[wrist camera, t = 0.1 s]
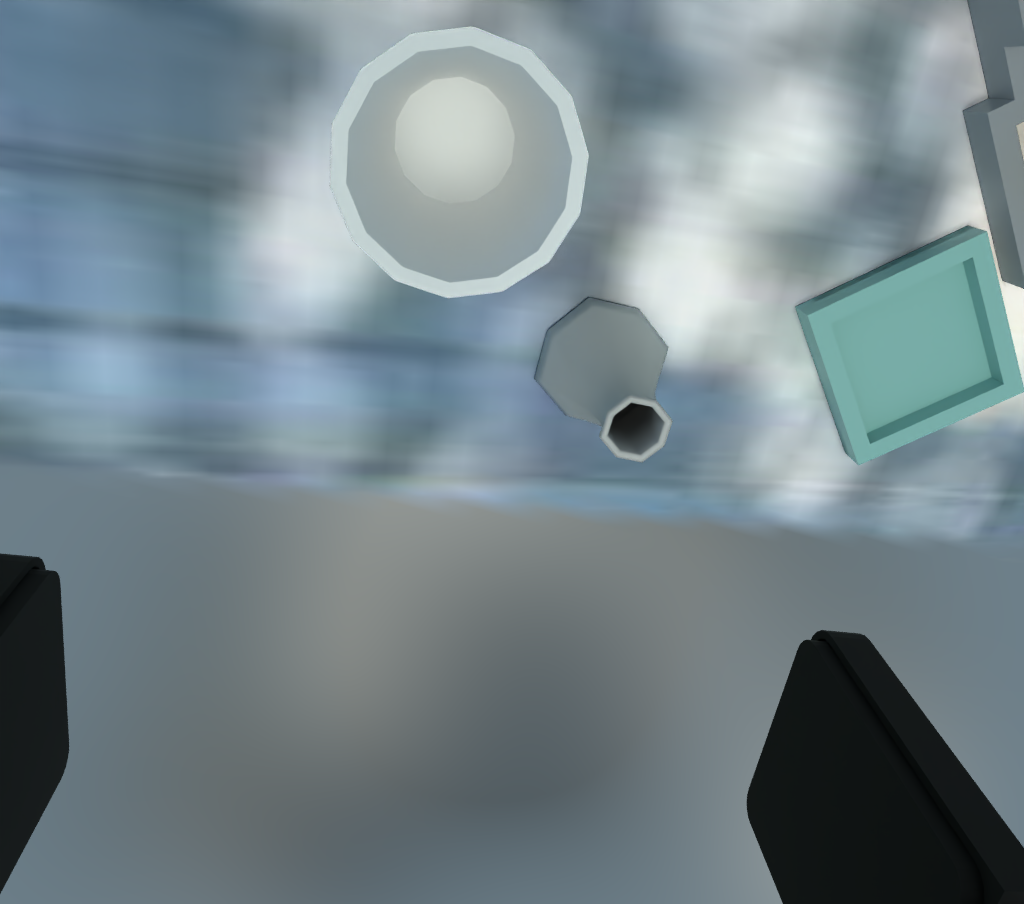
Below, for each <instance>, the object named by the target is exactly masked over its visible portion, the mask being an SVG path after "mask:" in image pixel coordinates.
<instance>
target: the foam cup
mask: <svg viewBox="0 0 1024 904" xmlns="http://www.w3.org/2000/svg"><path fill="white" fill-rule="evenodd" d="M588 158H589V154H588V150H587V147H586V144H585V140H584V137H583V133H582V130H581V126H580V123H579V119H578V116H577V112H576V109H575V105H574V102H573V98H572V96H571V95H570V93H569V92H568V91H567V90H566V89H565V88H564V87H563V85H562V84H561V83H560V82H559V81H558V80H557V79H556V77H555V76H554V75H553V74H552V73H551V72H550V71H549V70H548V68H547V67H546V66H545V65H544V64H543V63H542V62H541V60H540V59H539V58H538V57H537V56H536V55H535V54H534V52H533V51H532V50H531V49H529V48H526V47H524V46H521V45H519V44H516V43H514V42H511V41H509V40H506V39H504V38H501V37H499V36H496V35H494V34H491V33H489V32H486V31H484V30H481V29H479V28H476V27H474V26H471V27H462V28H453V29H444V30H435V31H426V32H418V33H411V34H410V35H408V36H407V37H405V38H404V39H403V40H401V41H400V42H398V43H397V44H395V45H394V46H393V47H391V48H390V49H388V50H387V51H385V52H384V53H383V54H381V55H380V56H378V57H377V58H375V59H374V60H372V61H371V62H370V63H368V64H367V65H365V66H364V67H362V68H361V69H360V71H359V73H358V75H357V77H356V79H355V81H354V82H353V84H352V86H351V88H350V90H349V92H348V94H347V96H346V98H345V100H344V101H343V103H342V105H341V107H340V109H339V111H338V113H337V115H336V117H335V119H334V121H333V122H332V131H331V159H330V188H331V190H332V193H333V195H334V198H335V200H336V202H337V205H338V207H339V210H340V212H341V214H342V217H343V219H344V222H345V224H346V226H347V229H348V231H349V234H350V236H351V238H352V241H353V242H354V243H355V244H356V245H357V246H358V247H359V248H360V249H362V250H363V251H364V252H365V253H366V254H367V255H368V256H369V257H370V258H371V259H372V260H373V261H374V262H375V263H377V264H378V265H379V266H380V267H381V268H382V269H383V270H384V271H385V272H386V273H387V274H388V275H389V276H390V277H392V278H393V279H394V280H395V281H397V282H400V283H403V284H406V285H409V286H412V287H415V288H418V289H422V290H425V291H428V292H431V293H434V294H437V295H440V296H443V297H446V298H454V297H462V296H470V295H479V294H487V293H495V292H502V291H504V290H506V289H507V288H509V287H510V286H512V285H514V284H515V283H517V282H518V281H520V280H522V279H523V278H525V277H526V276H528V275H529V274H531V273H533V272H534V271H536V270H537V269H539V268H541V267H542V266H544V265H545V264H547V263H548V262H549V261H550V260H551V258H552V257H553V255H554V254H555V252H556V251H557V249H558V248H559V246H560V244H561V243H562V241H563V240H564V238H565V237H566V235H567V234H568V232H569V231H570V229H571V227H572V226H573V224H574V223H575V221H576V220H577V218H578V217H579V215H580V211H581V205H582V198H583V191H584V185H585V178H586V171H587V164H588Z"/></svg>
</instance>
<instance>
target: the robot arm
mask: <svg viewBox="0 0 1024 904" xmlns="http://www.w3.org/2000/svg"><path fill="white" fill-rule="evenodd" d="M61 607H62V606H61V588H60V578H59V575H58V573H57V572H56V571H49V570H45V565H44V563H43V561H42V559H40V558H39V557H32V556H21V555H10V554H0V893H1V891H2V889H3V888H4V886H5V884H6V882H7V880H8V878H9V876H10V874H11V872H12V871H13V869H14V867H15V865H16V863H17V861H18V859H19V857H20V855H21V854H22V852H23V850H24V848H25V846H26V844H27V842H28V840H29V839H30V837H31V835H32V833H33V831H34V829H35V827H36V825H37V824H38V822H39V820H40V818H41V816H42V814H43V812H44V810H45V808H46V807H47V805H48V803H49V801H50V799H51V797H52V795H53V793H54V792H55V790H56V788H57V786H58V784H59V782H60V780H61V778H62V776H63V773H64V770H65V767H66V763H67V759H68V753H69V734H68V716H67V698H66V681H65V680H66V679H65V663H64V662H65V661H64V643H63V624H62V608H61ZM747 812H748V818H749V821H750V824H751V826H752V828H753V831H754V833H755V836H756V838H757V841H758V843H759V846H760V848H761V851H762V853H763V856H764V858H765V861H766V863H767V866H768V868H769V870H770V873H771V875H772V878H773V880H774V883H775V885H776V888H777V890H778V893H779V895H780V898H781V900H782V902H783V904H1024V848H1023V846H1022V845H1021V844H1020V842H1019V841H1018V840H1017V838H1016V837H1015V835H1014V834H1013V833H1012V832H1011V830H1010V829H1009V828H1008V826H1007V825H1006V823H1005V822H1004V821H1003V819H1002V818H1001V817H1000V815H999V814H998V813H997V811H996V810H995V808H994V807H993V806H992V805H991V803H990V802H989V800H988V799H987V798H986V796H985V795H984V794H983V792H982V791H981V790H980V788H979V787H978V786H977V784H976V783H975V782H974V780H973V779H972V778H971V776H970V775H969V773H968V772H967V771H966V769H965V768H964V767H963V766H962V764H961V763H960V761H959V760H958V759H957V757H956V756H955V755H954V753H953V752H952V751H951V749H950V748H949V747H948V745H947V744H946V743H945V741H944V740H943V738H942V737H941V736H940V734H939V733H938V732H937V730H936V729H935V728H934V726H933V725H932V724H931V723H930V721H929V720H928V719H927V717H926V716H925V714H924V713H923V712H922V710H921V709H920V707H919V706H918V705H917V703H916V702H915V701H914V699H913V698H912V697H911V695H910V694H909V693H908V691H907V690H906V689H905V687H904V686H903V685H902V683H901V682H900V681H899V679H898V678H897V677H896V675H895V674H894V672H893V671H892V670H891V668H890V667H889V666H888V664H887V663H886V662H885V660H884V659H883V658H882V656H881V655H880V654H879V652H878V651H877V650H876V648H875V647H874V645H873V644H872V643H871V641H870V640H869V639H868V638H867V637H866V636H865V635H862V634H858V633H847V632H836V631H826V630H821V631H818V632H816V633H815V634H814V635H813V637H812V639H811V640H805V641H803V642H802V643H801V644H800V646H799V648H798V650H797V653H796V656H795V659H794V662H793V664H792V667H791V670H790V673H789V676H788V679H787V682H786V684H785V687H784V691H783V693H782V696H781V699H780V702H779V704H778V707H777V710H776V713H775V716H774V719H773V722H772V724H771V727H770V730H769V733H768V736H767V739H766V742H765V745H764V747H763V750H762V753H761V756H760V759H759V761H758V764H757V767H756V770H755V773H754V776H753V779H752V781H751V784H750V787H749V791H748V794H747Z"/></svg>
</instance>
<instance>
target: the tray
mask: <svg viewBox="0 0 1024 904" xmlns="http://www.w3.org/2000/svg"><path fill="white" fill-rule="evenodd" d="M795 308H796V311H797V314H798V317H799V320H800V323H801V325H802V328H803V331H804V334H805V337H806V340H807V343H808V346H809V349H810V352H811V354H812V357H813V360H814V363H815V366H816V369H817V372H818V375H819V378H820V381H821V384H822V386H823V389H824V392H825V395H826V398H827V401H828V404H829V407H830V410H831V413H832V416H833V418H834V421H835V424H836V427H837V430H838V433H839V436H840V439H841V442H842V445H843V447H844V450H845V453H846V454H847V455H848V456H849V457H850V458H851V459H852V460H853V461H854V462H855V463H856V464H857V465H860V464H863V463H865V462H867V461H869V460H872V459H874V458H876V457H878V456H881V455H883V454H885V453H887V452H890V451H892V450H894V449H896V448H899V447H901V446H903V445H905V444H908V443H910V442H912V441H914V440H917V439H919V438H921V437H923V436H926V435H928V434H930V433H932V432H935V431H937V430H939V429H941V428H944V427H946V426H948V425H950V424H953V423H955V422H957V421H959V420H962V419H964V418H966V417H968V416H971V415H973V414H975V413H977V412H980V411H982V410H984V409H986V408H989V407H991V406H993V405H995V404H998V403H1000V402H1002V401H1004V400H1007V399H1009V398H1011V397H1013V396H1016V395H1018V394H1020V393H1022V392H1024V387H1023V383H1022V378H1021V374H1020V370H1019V366H1018V361H1017V357H1016V353H1015V349H1014V344H1013V340H1012V336H1011V332H1010V327H1009V323H1008V319H1007V315H1006V310H1005V306H1004V302H1003V298H1002V293H1001V289H1000V285H999V281H998V276H997V272H996V268H995V264H994V259H993V255H992V251H991V247H990V242H989V238H988V234H987V231H984V230H981V229H977V228H974V227H971V226H966V227H964V228H962V229H960V230H958V231H955V232H953V233H951V234H949V235H947V236H945V237H943V238H941V239H938V240H936V241H934V242H932V243H930V244H928V245H926V246H924V247H921V248H919V249H917V250H915V251H913V252H911V253H909V254H907V255H904V256H902V257H900V258H898V259H896V260H894V261H892V262H890V263H887V264H885V265H883V266H881V267H879V268H877V269H875V270H873V271H870V272H868V273H866V274H864V275H862V276H860V277H858V278H856V279H853V280H851V281H849V282H847V283H845V284H843V285H841V286H839V287H836V288H834V289H832V290H830V291H828V292H826V293H824V294H822V295H819V296H817V297H815V298H813V299H811V300H809V301H807V302H805V303H802V304H800V305H798V306H796V307H795Z"/></svg>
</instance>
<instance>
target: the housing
mask: <svg viewBox="0 0 1024 904" xmlns="http://www.w3.org/2000/svg"><path fill="white" fill-rule="evenodd" d="M968 4H969V8H970V13H971V17H972V22H973V26H974V31H975V36H976V40H977V45H978V49H979V54H980V58H981V63H982V68H983V72H984V77H985V81H986V86H987V90H988V95H989V99H986V100H984V101H982V102H980V103H978V104H976V105H974V106H972V107H970V108H968V109H966V110H964V111H963V113H964V118H965V122H966V126H967V130H968V135H969V139H970V143H971V148H972V152H973V156H974V160H975V165H976V169H977V173H978V178H979V182H980V186H981V191H982V195H983V199H984V203H985V208H986V212H987V216H988V221H989V225H990V229H991V233H992V238H993V242H994V246H995V251H996V255H997V259H998V263H999V268H1000V272H1001V276H1002V280H1003V281H1005V282H1008V283H1010V284H1013V285H1015V286H1018V287H1021V288H1023V289H1024V161H1023V156H1022V152H1021V147H1020V142H1019V137H1018V133H1017V128H1016V125H1018V124H1020V123H1022V122H1024V0H968Z"/></svg>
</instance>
